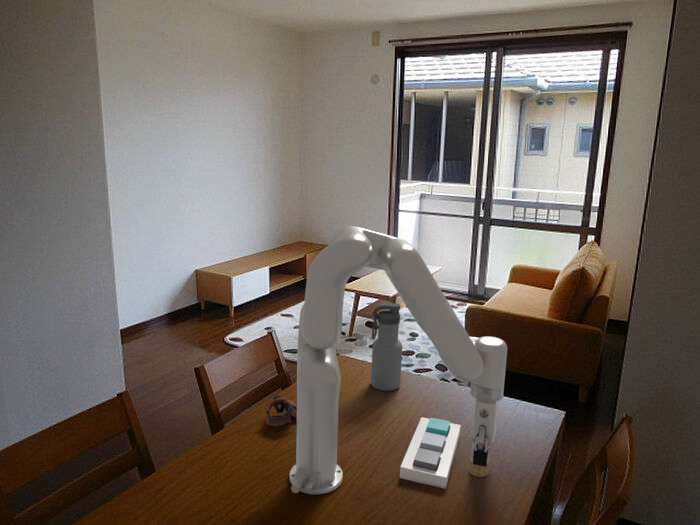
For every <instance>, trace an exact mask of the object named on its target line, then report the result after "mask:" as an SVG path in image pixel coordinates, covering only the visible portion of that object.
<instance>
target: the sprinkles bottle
mask: <svg viewBox="0 0 700 525" xmlns="http://www.w3.org/2000/svg"><path fill="white" fill-rule="evenodd" d="M473 423H474V421H473ZM485 430H486V428H485ZM478 437H479V434H478ZM484 438H487V436H484ZM475 441H476V439H475V438H474V437H473V436H472V440H471V448H470V449H471V450H470V462H469V468H468V470H469V472H470V474H471V475H472V476H474V477H476V478H477V477H478V478H484V477H486V476H488V474H489V471H488V468H489V461H490V453H491V452H490V451H491V441H488V445H487V451H488V457H487V466H486V467H483V466H479V465H474V464H473V452H474V448H475ZM484 445H485V441H484Z"/></svg>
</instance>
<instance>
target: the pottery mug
mask: <svg viewBox="0 0 700 525" xmlns="http://www.w3.org/2000/svg"><path fill="white" fill-rule="evenodd" d="M273 407H274V409H275V411H276V413H277V414H280V413H281V414H282V413H283V412H284V411H285V413H284V414H283V415H280V416H277V417H274V416H272V415H270V411H271V409H272V408H273ZM265 409H266V410H265V413H266V418H265V420H266V424H267V426H268V427H270V426H271V427H280V426H283V425H285V424H287V423H290V424H291V423H292V420H291V416H296V417H297V403H295V402H294V401H292V400H289V399H287V398H285V397H282V396H281V395H280V394H275V395H274V396H273V400H272V401H271V402H270V403H269V404H268V405H267V408H265Z"/></svg>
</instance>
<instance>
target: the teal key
mask: <svg viewBox="0 0 700 525" xmlns="http://www.w3.org/2000/svg"><path fill="white" fill-rule="evenodd" d="M429 419H430V420H429V422H428V425H427V430H426V432H428V433H433V434H438V435H443V436H445V437H447V435H448V432H449V427H450V423H451V421H450V420H446V419H441V418H435V417H430V418H429Z"/></svg>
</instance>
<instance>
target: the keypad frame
mask: <svg viewBox="0 0 700 525" xmlns="http://www.w3.org/2000/svg"><path fill="white" fill-rule="evenodd" d="M429 420H430V418H427V417H422V416H421V417H420V420H419V422H418V424H417V427H416V428H415V431H414V434H413V436H412V439H411V441H410V443H409V446H408V448H407V451H406V452H405V455H404V457H403V460H402V463H401V464H400V467H399V468H400V469H399V478H400V479H403V480H406V481H410V482H415V483H419V484H423V485H429V486H432V487H436V488H440V489H444V490H446V489H447V485H448V482H449V478H450V474H451V470H452V467H453V464H454V458H455V456H456V451H457V447H458V443H459V439H460V436H461V426H462V425H461V424H456V423H452V422H450V427H449V432H448V435H447V437H445V445H444V449H443V452H442V453H440V462H439V465H438V468H437V471H433V470H429V469H424V468H420V467H416V466H414V458H415V456H416V453H417V451H418V448H420V445H421V440H422V438H423V435H424V433H425V432H426V430H427V425H428V422H429Z"/></svg>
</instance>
